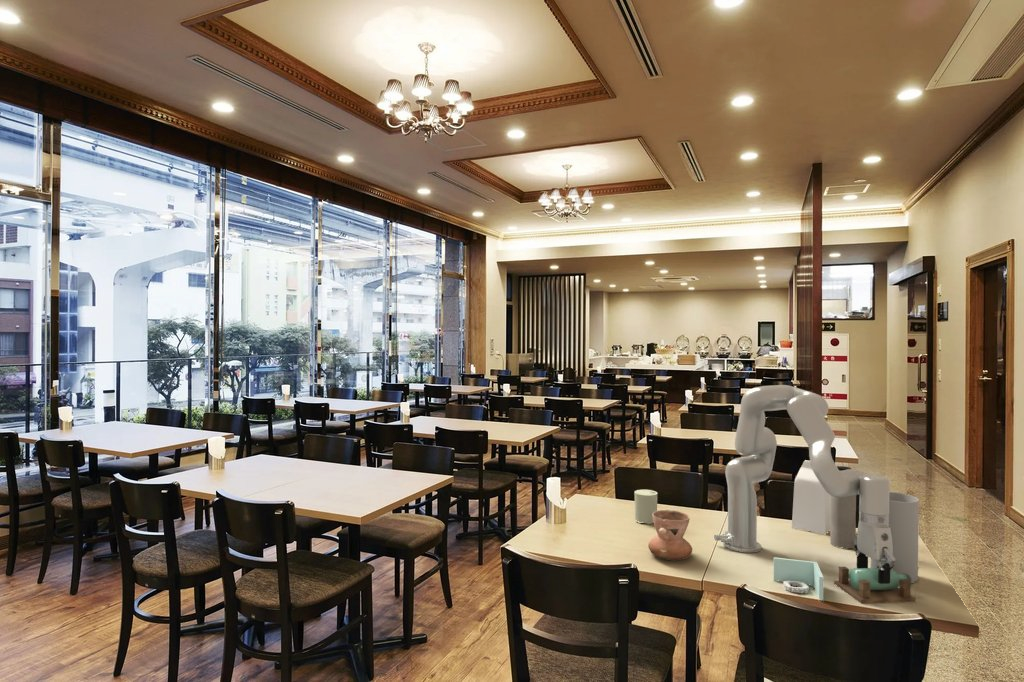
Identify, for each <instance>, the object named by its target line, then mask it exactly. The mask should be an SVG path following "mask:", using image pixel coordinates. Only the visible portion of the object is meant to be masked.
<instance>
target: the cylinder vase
mask: <svg viewBox="0 0 1024 682" xmlns="http://www.w3.org/2000/svg"><path fill="white" fill-rule="evenodd" d="M919 500H920V499H919V498H918V497H916V496H913V495H911V494H906V493H901V492H894V491H890V495H889V527H890V529H891V535H892V545H893V556H894V558H895V559H896V561H895V563H894V567H893V568H892V569H893V570H894V571H895V572H896V574H903V573H908V574H909V575H910V576H911V584H914V583H916V582H917V581H918V580H919V525H920V524H919V521H920V520H919V519H920V518H919V516H920V515H919V514H920V513H919V510H920V509H919V507H920V506H919V505H920V503H919ZM882 558H883V557H882ZM882 564H883V565H884V564H885V562H882ZM877 566H879V565H878V562H877V561H875V560H874V559H872V558H870V568H877Z"/></svg>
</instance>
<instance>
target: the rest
mask: <svg viewBox="0 0 1024 682" xmlns="http://www.w3.org/2000/svg"><path fill="white" fill-rule="evenodd" d="M877 568H880V567H879V566H877ZM849 572H850V569H849V568H848V567H847V566H838V580H834V581H833V585H835V584H836V585H837V586H836V585H835V586H836V587H838V588H839V587H840V588H841V590H842V591H843V590H844V591H843V592H844V593H846V594H847V593H848V594H847V595H849V596H850V597H852V598H853V599H854V600H856V601H857V600H858V603H860V602H861V603H860V604H876V603H877V602H878V604H881V603H884V602H888V603H917V599H916V597H914V596H913V595H912V593H911V592H912V589H911V588H912V583H911V581H909V580H907V579H900V583H899V587H898V588H897V589H896V590H870V582H868V581H867V580H859V591H857V590H855V589H854V588H853V587H852V585H851V583H850V579H849ZM840 588H839V589H840ZM879 602H880V603H879ZM884 604H885V603H884Z"/></svg>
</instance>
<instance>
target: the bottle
mask: <svg viewBox="0 0 1024 682" xmlns="http://www.w3.org/2000/svg"><path fill="white" fill-rule="evenodd" d="M878 569H880V568H871V567H868V568H857V567H856V568H851V569H849V580H850V583H851V585H852V587H853V588H854V589H855V590H857V591H859V580H867V581H868V582H870V590H896V589H897V588H899V587H900V579H907V580H909V581H911V576H910V575H909V574H908V573H903V574H896V572H895V571H894V570H893V569H892V570H890V583H889V584H880V583H878Z"/></svg>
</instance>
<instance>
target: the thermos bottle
mask: <svg viewBox="0 0 1024 682" xmlns="http://www.w3.org/2000/svg"><path fill="white" fill-rule="evenodd" d="M836 466H837V468H838V469H839V471H842V470H847V469H852V468H851V467H850V466H843V465H836ZM856 513H857V495H851V496H847V497H843V498H836V497H833V496H831V527H830V531H829V532H830V534H829V535H830V537H829V538H830V539H829V540H830V543H829V544H830V545H831V546H833V545H834V547H836V546H838V547H837V548H839V547H843V548H842V549H845V548H852V549H855V548H854V546H855V545H854V541H853V538H855V537H857V533H856V532H857V531H856V530H857V528H856V527H857V523H856V522H857V521H856V519H857V518H856V517H857V516H856Z"/></svg>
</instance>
